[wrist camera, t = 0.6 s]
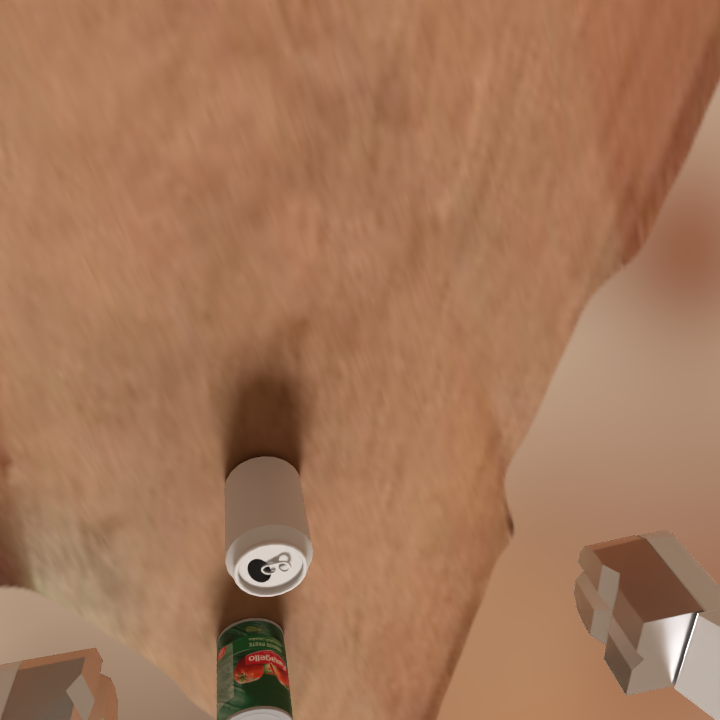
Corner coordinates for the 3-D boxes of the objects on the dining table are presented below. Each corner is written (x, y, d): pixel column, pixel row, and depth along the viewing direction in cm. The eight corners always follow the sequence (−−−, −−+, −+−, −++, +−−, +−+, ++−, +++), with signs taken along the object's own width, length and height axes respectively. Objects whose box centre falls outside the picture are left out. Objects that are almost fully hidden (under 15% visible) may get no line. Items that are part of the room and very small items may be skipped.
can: (213, 465, 58) (211, 558, 48) (286, 441, 59) (300, 527, 48) (239, 519, 62) (243, 615, 52) (308, 495, 62) (326, 586, 52)
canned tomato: (216, 665, 72) (215, 761, 62) (216, 620, 68) (215, 714, 59) (282, 658, 74) (291, 750, 64) (286, 614, 70) (296, 704, 61)
